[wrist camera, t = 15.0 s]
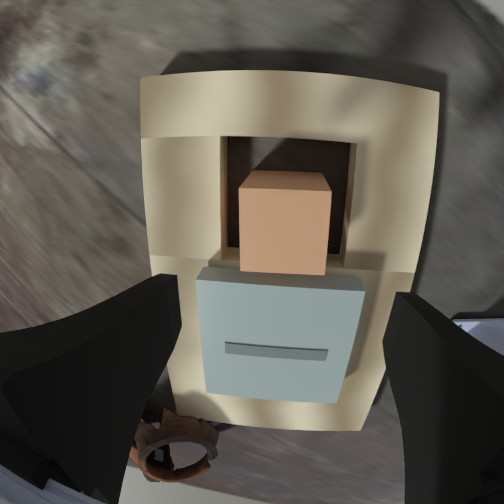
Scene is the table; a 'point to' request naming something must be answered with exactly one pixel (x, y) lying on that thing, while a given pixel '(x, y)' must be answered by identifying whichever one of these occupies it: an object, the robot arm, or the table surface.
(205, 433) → the brown broken pot
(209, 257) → the light wood flat board
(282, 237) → the block
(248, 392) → the lid
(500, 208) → the table surface
